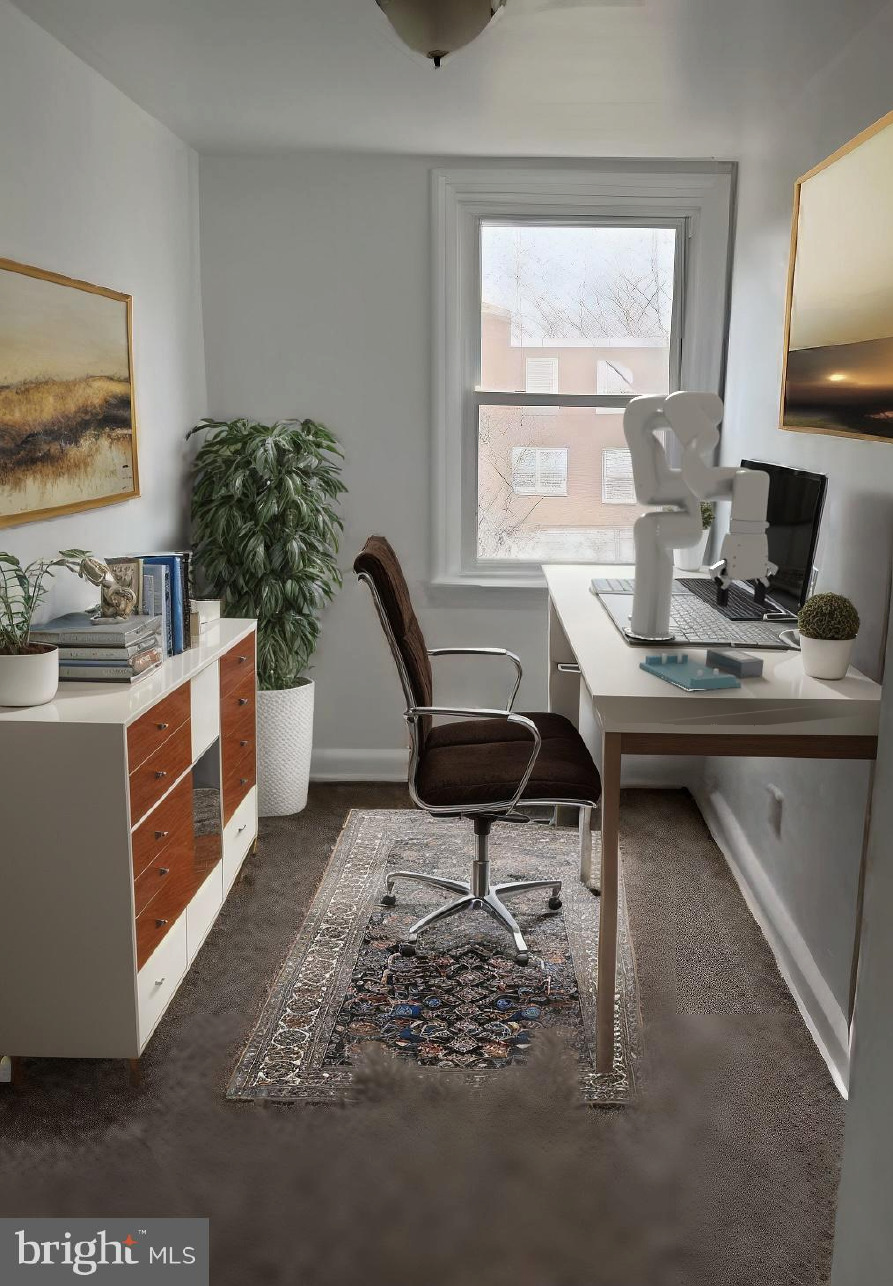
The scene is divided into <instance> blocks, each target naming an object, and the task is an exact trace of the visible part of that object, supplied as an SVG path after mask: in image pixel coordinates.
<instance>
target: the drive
mask: <svg viewBox="0 0 893 1286" xmlns="http://www.w3.org/2000/svg"><path fill="white" fill-rule="evenodd" d="M705 666H706V667H708V668H711V669H713V670H714V669H719V671H720V672H722V673H725V674H726V675H730V674H732V675H734V676H736V678H738V679H750V678H757V677H759V678H760V677H763V669H764V659H762V658H760V657H759V658H758V657H756V656H754V655H750V654H747V653H745V652H742V651H739V650H738V649H737V650H736V649H734V648H731V647H729V646H728V647H727V646H726V647H718V648H708V649H707V650H706V658H705Z"/></svg>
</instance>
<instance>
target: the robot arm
mask: <svg viewBox="0 0 893 1286" xmlns="http://www.w3.org/2000/svg"><path fill="white" fill-rule="evenodd" d="M724 413H725V407H724V403H723V400H722V399H721V397H719V395H718V394H716V393H715V392H711V391H693V390H692V391H691V390H683V391H681V390H680V391H676V392H673V393H672V394H670V395H658V394H657V395H653V394H651V395H641V396H637V397H635V398H633V399H631V400H630V401H629V402H628V403H627V404H626V406H625V409H624V412H623V418H622V426H623V427H622V428H623V434H624V437H625V440H626V443H627V446H628V449H629V454H630V458H631V468H632V469H631V470H632V477H633V484H634V485H633V486H634V492H635V498H636V500H637V502H638V504H639V505H641V506H642V507H646V508H672V509H673V510H672V511H667V510H666V511H661V510H660V511H650V512H645V513H643V514H641V515H639V516H638V518H636V520H635V522H634V525H633V539H634V549H635V563H634V580H633V581H634V582H633V583H634V584H633V594H632V595H633V596H632V597H633V598H632V608H631V610H632V611H631V612H632V613H631V615H628V617H627V620H628V621H629V622H630V626H628V627H626V628H624V633H625V632H633V633H634V635H638V636H641V637H645V638H669V637H672V636H674V635H675V636H676V633H675V631H674V630H672V629H670V621H671V620H670V619H671V618H670V617H671V608H672V607H671V606H672V594H673V580H674V564H673V562H672V559H671V558H670V555H668V552H667V551H670V550H687V549H693V548H695V547H697V546H698V545H699V544H700V542H701V541H702V538H703V535H704V534H703V532H704V531H703V530H704V529H703V518H702V517H703V516H702V509H701V501H702V502H731V504H730V518H729V526H728V527H729V528H728V531H729V532H726V533H725V534H724V537H723V541H722V544H721V549H720V553H719V560H718V562H717V563H716V564H714V565H713V566H711V567H709V568H708V573H709V576H710V579H711V581H712V583H713V584H714V586H715V588H717V590H716V599H715V600H716V606H719V607H723V608H727V607H728V605H729V604H728V603H729V593H730V590H729V588H728V586H729V585H730V584H731V582H733V581H748V580H755V582H756V584H755V585H754V591H753V593H754V595H753V603H755V604H758V605H760V606H764V605H765V602H766V596H767V588H768V587H770V583H771V582H772V581H773V580H774V579H775V575H776V574H777V571H778V570H779V566H778V565H777V564H775V563H773V562H771V561H769V544H768V535H767V534H766V529H768V528H770V523H769V521H767V515H768V513H767V511H768V501H769V500H768V499H769V491H770V489H769V488H770V475H769V473H768V472H766V471H765V470H753V469H749V468H748V467H742V466H708V465H707V464H706V463H705V461H704V460H703V459H702V457H705V456H706V455H708V454H709V453H710V452H712V451H713V450H715V448H716V446H717V445H718V443H719V440H720V430H718V428H717V426H719V424H721V422H722V420H723V419H724V416H725V415H724ZM654 431H656V432H657V431H660V432H661V431H663V432H664V431H665V432H666V431H668V432H671V431H673V433H674V434H675V436H676V438H677V439H678V441H679V442H680V444H681V446H682V447H683V451H682V454H681V457H680V468H670V467H668V464H667V455H666V451H665V448H664V446H663V444H662V443H661V440H660V439H659V438H658V437H657V436H656V435H655V434H654ZM633 633H632V634H633Z"/></svg>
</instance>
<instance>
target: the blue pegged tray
mask: <svg viewBox="0 0 893 1286" xmlns="http://www.w3.org/2000/svg"><path fill="white" fill-rule="evenodd" d="M639 668H641V669H642V670H644V669H645V670H644V671H646V670H647V671H646V672H648V671H649V673H650V672H651V673H650V674H652V673H653V674H652V675H654V676H655V677H658V678H660V677H663V678H664V679H666V680H668V681H670V682H673V683H675V684H678V685H680V686H682V687H684V688H686V689H688V690H689V689H715V690H718V689H717V688H726V689H730V688H729V687H737V688H741V687H742V682H741V681H738V680H736V678H737V677H736V676H734V675H732V674H723V673H721V672H719V669H714V668H711V667H709V666H707V665H703V664H702V663H699V662H697V661H694V660H692V659H690V658H689V654H687V653H685V652H681V651H678V652H677V653H669V654H668V653H663V652H662V654H654V655H645V662H639ZM664 679H663V680H664ZM666 680H665V681H666ZM668 681H667V682H668ZM670 682H669V683H670ZM740 686H741V687H740Z"/></svg>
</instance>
